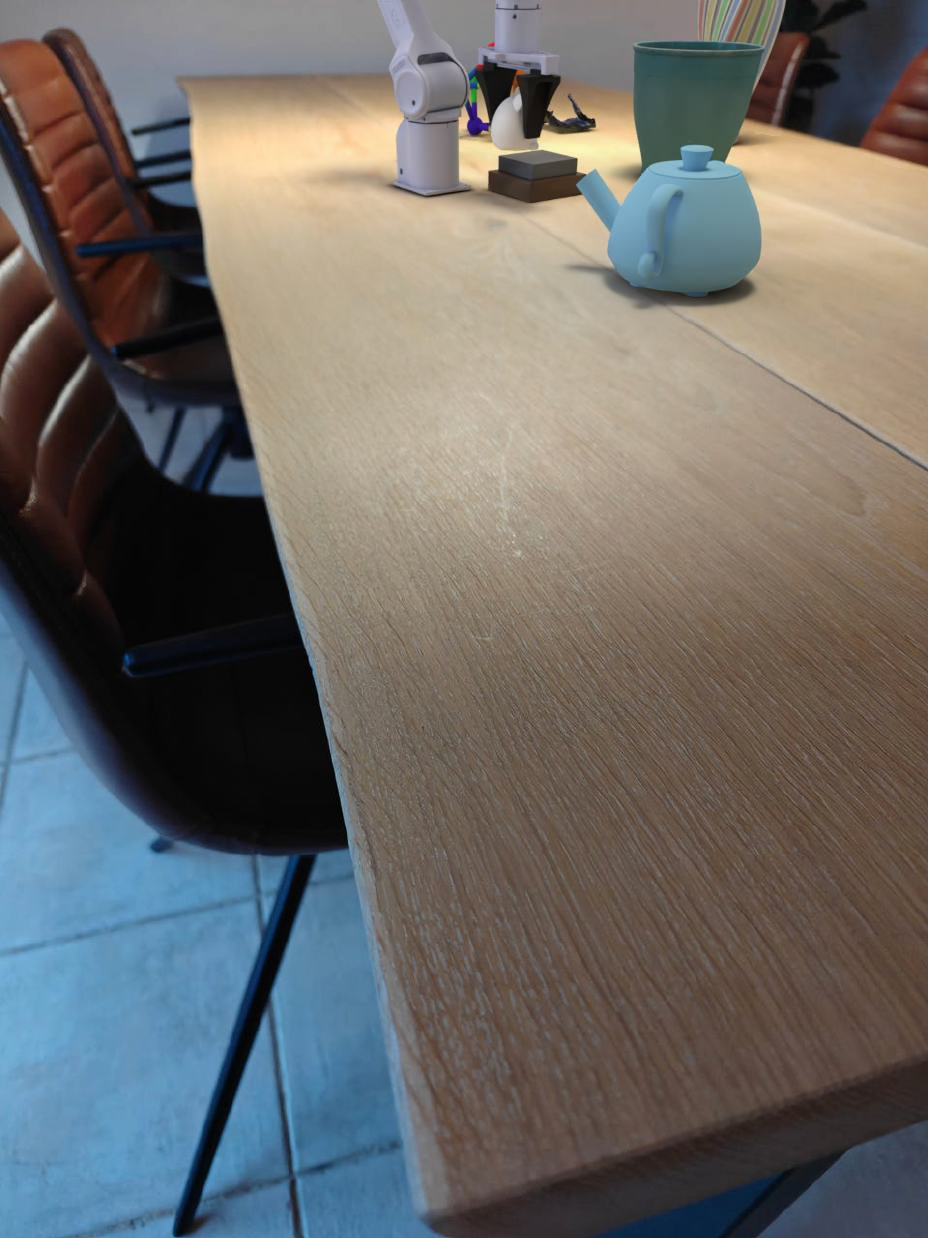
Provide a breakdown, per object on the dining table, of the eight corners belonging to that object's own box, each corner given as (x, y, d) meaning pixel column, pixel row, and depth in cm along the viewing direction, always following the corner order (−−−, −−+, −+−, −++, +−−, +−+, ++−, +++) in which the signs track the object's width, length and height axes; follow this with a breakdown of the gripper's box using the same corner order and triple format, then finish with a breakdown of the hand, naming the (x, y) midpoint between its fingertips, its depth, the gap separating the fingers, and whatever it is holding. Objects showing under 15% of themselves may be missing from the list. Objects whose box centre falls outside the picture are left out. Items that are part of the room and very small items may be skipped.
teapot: (717, 320, 82) (743, 172, 75) (530, 287, 91) (536, 150, 83) (778, 268, 95) (805, 137, 88) (610, 243, 104) (621, 122, 96)
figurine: (540, 153, 113) (543, 94, 109) (491, 153, 113) (491, 94, 109) (537, 141, 120) (539, 85, 116) (490, 141, 120) (491, 85, 116)
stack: (487, 189, 127) (488, 154, 124) (542, 181, 132) (543, 147, 129) (530, 202, 120) (531, 166, 118) (585, 193, 125) (588, 158, 122)
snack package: (585, 123, 175) (527, 122, 174) (590, 87, 170) (531, 86, 169) (597, 145, 167) (537, 144, 165) (603, 108, 162) (541, 107, 161)
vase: (768, 140, 158) (807, -72, 140) (744, 152, 149) (782, -73, 131) (697, 133, 164) (725, -70, 146) (669, 144, 155) (696, -71, 137)
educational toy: (458, 136, 169) (458, 42, 161) (525, 137, 168) (529, 43, 160) (448, 141, 156) (448, 40, 148) (521, 142, 155) (525, 40, 147)
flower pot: (666, 160, 144) (681, 36, 133) (764, 176, 133) (789, 43, 123) (597, 177, 134) (607, 44, 123) (697, 195, 123) (718, 52, 113)
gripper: (458, 6, 110) (459, 128, 119) (527, 12, 101) (523, 145, 109) (504, 4, 113) (501, 124, 122) (575, 10, 104) (567, 139, 112)
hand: (514, 133), depth 116 cm, fingers closed on figurine, 7 cm apart
